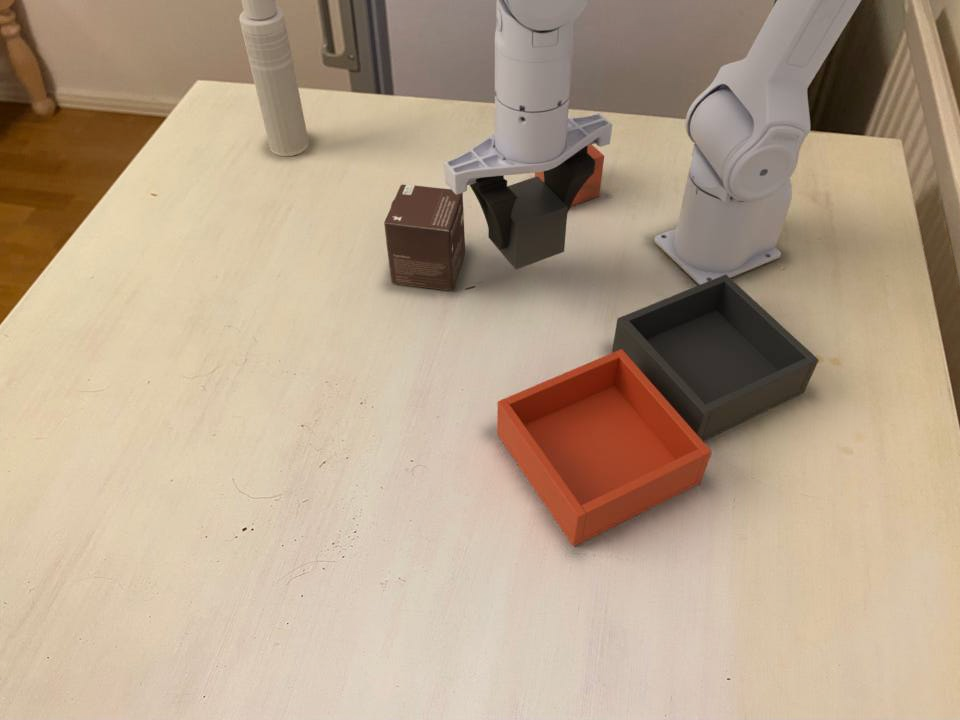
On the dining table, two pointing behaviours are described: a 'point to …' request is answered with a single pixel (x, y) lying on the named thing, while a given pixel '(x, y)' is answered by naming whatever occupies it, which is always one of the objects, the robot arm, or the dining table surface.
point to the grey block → (535, 224)
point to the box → (425, 237)
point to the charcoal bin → (715, 355)
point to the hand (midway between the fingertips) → (526, 232)
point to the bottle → (274, 76)
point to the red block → (593, 183)
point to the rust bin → (600, 445)
